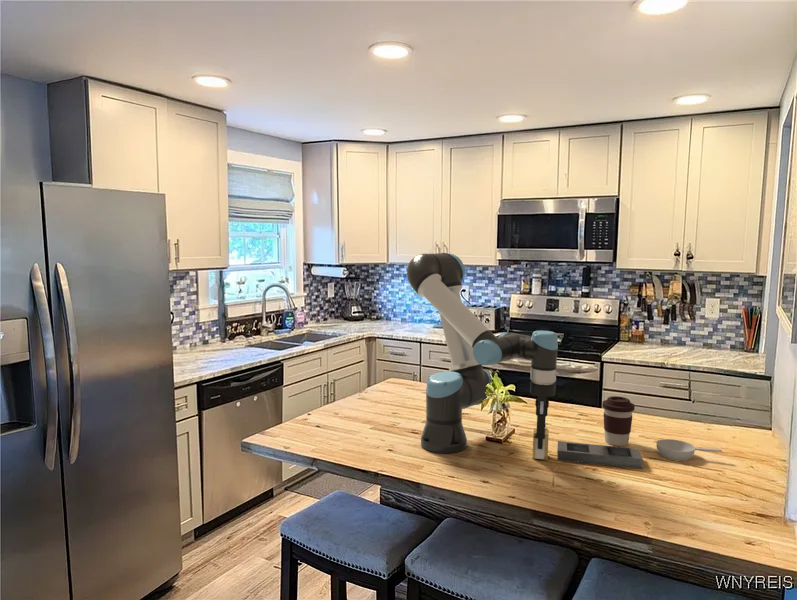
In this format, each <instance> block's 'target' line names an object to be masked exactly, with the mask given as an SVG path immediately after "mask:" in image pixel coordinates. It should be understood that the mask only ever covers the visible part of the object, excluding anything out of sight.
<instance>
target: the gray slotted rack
mask: <svg viewBox="0 0 797 600" xmlns="http://www.w3.org/2000/svg"><path fill="white" fill-rule="evenodd" d="M556 455H557V461H562V462H573V463H579V464H581V463H583V464H591V465H601V466H602V465H603V466H610V467H611V466H612V467H620V468H629V469H637V470H643V462H644V461H643V460H644V459H643V457H642V454H641V451H640V449H639V448H636V447H635V448H634V447H626V446H614V445H602V444H595V443H593V444H592V443H583V442H582V443H581V442H569V441H562V440H561V441H560V440H557V454H556Z"/></svg>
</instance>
